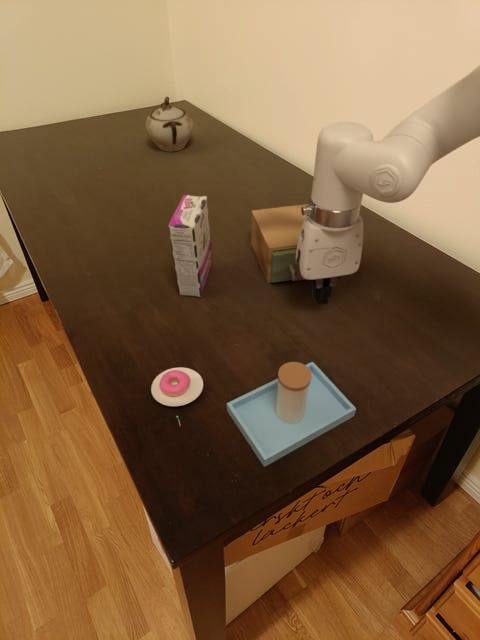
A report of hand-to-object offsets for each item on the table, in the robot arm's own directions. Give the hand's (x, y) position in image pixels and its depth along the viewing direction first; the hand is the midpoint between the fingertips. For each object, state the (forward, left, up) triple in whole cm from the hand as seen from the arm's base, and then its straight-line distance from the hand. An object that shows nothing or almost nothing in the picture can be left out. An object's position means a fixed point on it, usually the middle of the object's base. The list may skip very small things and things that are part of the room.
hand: (320, 299), depth 79 cm
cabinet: (0, -19, -4) cm, 19 cm away
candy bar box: (+21, -16, -4) cm, 27 cm away
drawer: (0, -14, -3) cm, 15 cm away
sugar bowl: (+19, -86, -4) cm, 88 cm away
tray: (+12, +20, -4) cm, 23 cm away
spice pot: (+12, +20, -3) cm, 23 cm away
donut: (+28, +13, -4) cm, 31 cm away
